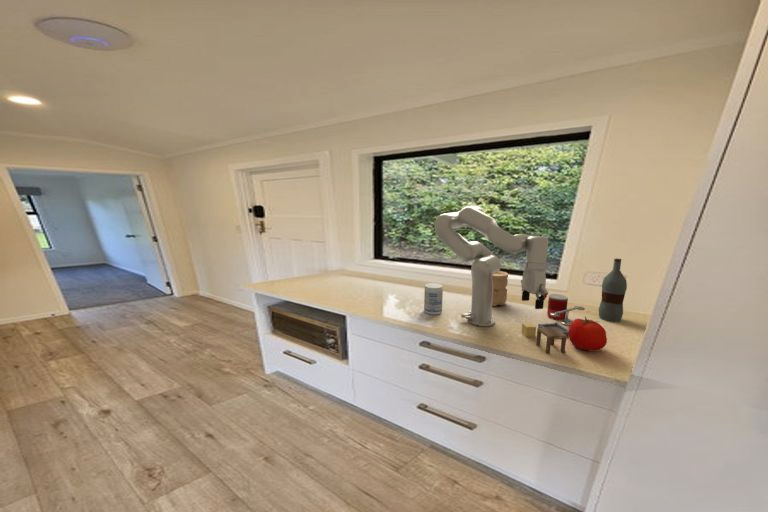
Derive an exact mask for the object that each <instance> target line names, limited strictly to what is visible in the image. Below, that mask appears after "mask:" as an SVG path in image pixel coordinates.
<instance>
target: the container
mask: <svg viewBox="0 0 768 512" xmlns="http://www.w3.org/2000/svg"><path fill="white" fill-rule="evenodd" d="M508 279H509V273H508V272H506V271H502V270H499V271H498V272H497V273H495V274H494V275H492V280H493V301H492V307H497V306H504V305H505V304H506V302H507V297H508V288H506V287H507V286H508V284H509V283H508V282H509V281H508Z"/></svg>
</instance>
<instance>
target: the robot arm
mask: <svg viewBox="0 0 768 512" xmlns="http://www.w3.org/2000/svg"><path fill="white" fill-rule="evenodd" d="M464 227H470V228H472V229H473V230H475V231H476V232H478V233H480V234H482V235H483V236H484V237H485V239H487V240H488V241H489V242H490V243H491V244H493V245H494V246H495V247H497V248H498V249H500V250H502V251H504V252H506V253H508V254H512V255H513V254H518V253H520V252H525V251H526V254H525V255H526V256H525V267H524V269H523V272H522V277H521V279H520V283H521V285H520V286H521V301H523V302H528V301H530V296H531V295H530V294H532V295H535V297H536V299H535V303H534V304H535V305H534V309H535V310H543V309H544V302H545V300H546V299H547V297H548V296H549V291H548V290H547V289H546V286H547V285H546V282H547V281H546V280H547V278H546V277H547V275H546V274H547V273H546V270H547V268H546V267H547V259H548V250H549V238H548V237H547V236H544V235H543V236H542V235H529V234H525V233H516V234H514V235H513V234H512V233H510V232H508V231H506V230H505V229H503V228H502V227H501V226H499V225H498V222H497V220H496V219H495V218H493V216H490V215H488V214H486V213H485V212H484V210H483V208H482V207H480V206H478V205H468V206H465V207H463V208H461V210H459V211H456V212H447V213H442V214H440V215H438V216H437V217H436V219H435V221H434V231H435V234H436V237H438V239H439V240H440V241H441V242H442V243H443V244H445V246H447V247H448V249H450V250H451V251H452V252H453V253H454V254H455V256H457V257H458V258H459V259H460V260H461V261H462V262H465V263H469V262H473V263H472V264H471V266H470V267H471V269H470V272H471V273H470V274H471V306H470V310H469V311H468V312H467V313H461V316H460V317H461V318H462V319H463V318H465V319H466V320H467V322H468V323H470V324H471V323H472V324H471V325H473V326H474V325H475V326H477V325H479V326H478V327H492V326H493V325H494V324H496V322H495V321H496V320H495V318H493V317H492V315H493V306H492V301H493V280H492V275H494V274H495V273H497V272H498V271H501V267H502V263H501V260H500V259H499V258H498V257H497V255H495V253H493V252H492V251H491V250H490V249H489V248H488V247H486V246H485V245H484V244H483V243H481V242H480V241H476V240H472V241H469V240H467V239H466V238H465V237H463V235H461V234H460V233H459V232H457V231H456V229H460V228H464Z"/></svg>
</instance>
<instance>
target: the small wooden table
mask: <svg viewBox="0 0 768 512" xmlns="http://www.w3.org/2000/svg"><path fill="white" fill-rule="evenodd" d="M542 335H543V336H546V345H545V354H547V355H549V354H550V353H551V346H555V340H556V339H559V338H561V345H560V351H561V353H562V354H565V352H566V342H567V337H568V336H567V335H565V334H564V333H562V332H561V331H559V330H557V329H556V328H554V327H551V328H538V327H537V328H536V342H535V343H536V344H535V345H536V346H537V347H539V346H540V347H541V341H542V339H541V338H542ZM566 336H567V337H566Z"/></svg>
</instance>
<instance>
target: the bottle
mask: <svg viewBox="0 0 768 512" xmlns="http://www.w3.org/2000/svg"><path fill="white" fill-rule="evenodd" d="M621 264H622V259H621V258H614V260H613V266H612V270H611V271H610V272H609V273H608V274H607V275H606V276H605V277H604V278H603V280H602V284H601V301H600V303H599V307H598V317H599V319H601V321H602V320H603V321H605V322H609V323H620V322H621V320H622V318H623V315H624V305H623V304H624V300H625V297H626V296H625V295H626V291H627V289H628V285H627V284H628V283H627V279H626V278H625V276H624V274H623V272H622V271H621Z"/></svg>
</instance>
